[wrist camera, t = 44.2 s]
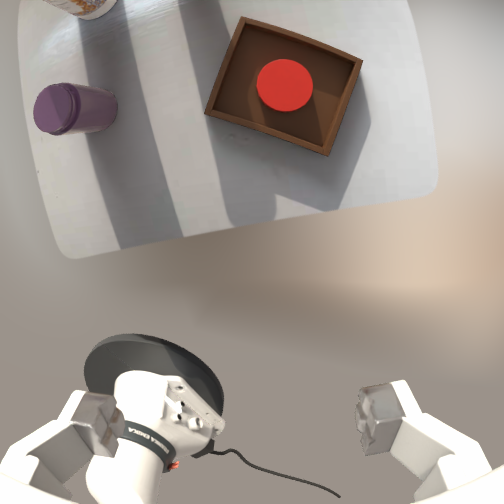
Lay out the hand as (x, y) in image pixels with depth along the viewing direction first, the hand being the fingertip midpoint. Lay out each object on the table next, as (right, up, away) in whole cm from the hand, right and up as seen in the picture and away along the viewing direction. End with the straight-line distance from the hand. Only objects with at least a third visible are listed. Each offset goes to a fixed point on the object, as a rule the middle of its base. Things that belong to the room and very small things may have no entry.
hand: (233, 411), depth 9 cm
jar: (-19, +23, +24) cm, 38 cm away
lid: (+4, +23, +21) cm, 32 cm away
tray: (+4, +24, +23) cm, 34 cm away
